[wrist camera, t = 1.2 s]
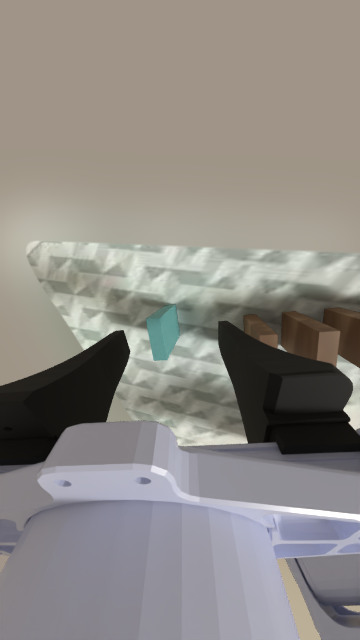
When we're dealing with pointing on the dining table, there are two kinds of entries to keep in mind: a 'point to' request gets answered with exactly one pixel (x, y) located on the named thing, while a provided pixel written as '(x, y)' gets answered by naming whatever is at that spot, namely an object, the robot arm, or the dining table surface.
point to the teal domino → (163, 331)
